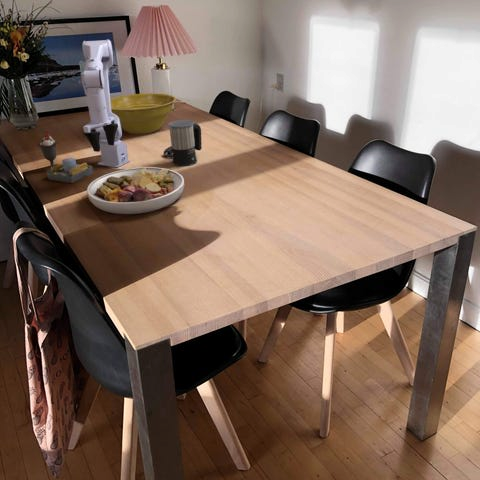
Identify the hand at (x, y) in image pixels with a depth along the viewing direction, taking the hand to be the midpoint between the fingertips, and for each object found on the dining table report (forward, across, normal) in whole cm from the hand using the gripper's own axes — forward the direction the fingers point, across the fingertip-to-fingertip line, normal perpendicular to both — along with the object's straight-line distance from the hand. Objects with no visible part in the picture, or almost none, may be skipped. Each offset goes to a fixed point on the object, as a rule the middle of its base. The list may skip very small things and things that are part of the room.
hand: (104, 148), depth 174 cm
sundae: (+10, -1, +25) cm, 27 cm away
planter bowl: (+10, +54, +23) cm, 59 cm away
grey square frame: (+10, -4, +14) cm, 18 cm away
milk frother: (+10, +24, -14) cm, 30 cm away
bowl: (+11, -12, -21) cm, 26 cm away
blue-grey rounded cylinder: (+10, -4, +13) cm, 17 cm away
